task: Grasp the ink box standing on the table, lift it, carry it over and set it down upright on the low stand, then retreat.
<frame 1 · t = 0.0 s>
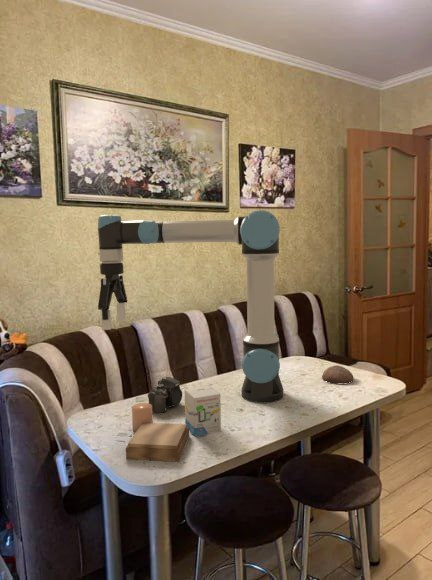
hand: (114, 325, 147), 28 cm above the table, fingers open, 13 cm apart
decorative stone: (337, 380, 173), on the table
ink box: (202, 429, 131), on the table
camera: (167, 407, 149), on the table
stand: (159, 447, 120), on the table
peach domed cylinder: (142, 428, 132), on the table
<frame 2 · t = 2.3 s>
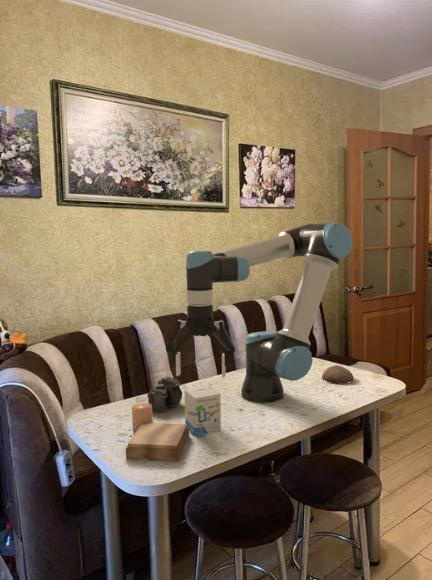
hand: (200, 375, 129), 16 cm above the table, fingers open, 13 cm apart
nothing on the table moved.
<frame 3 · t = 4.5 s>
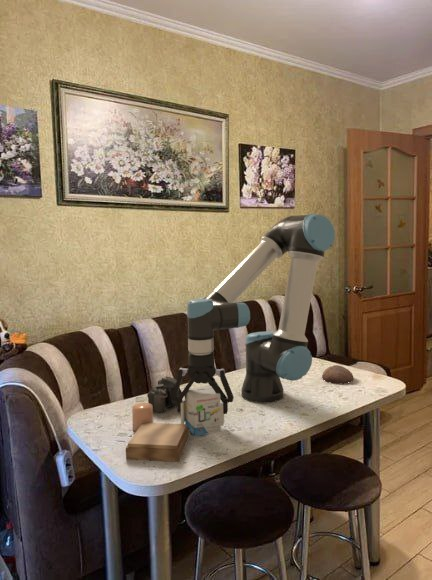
hand: (202, 423, 131), 2 cm above the table, fingers closed on ink box, 11 cm apart
ink box: (202, 428, 131), on the table, touching gripper
everything else where it was.
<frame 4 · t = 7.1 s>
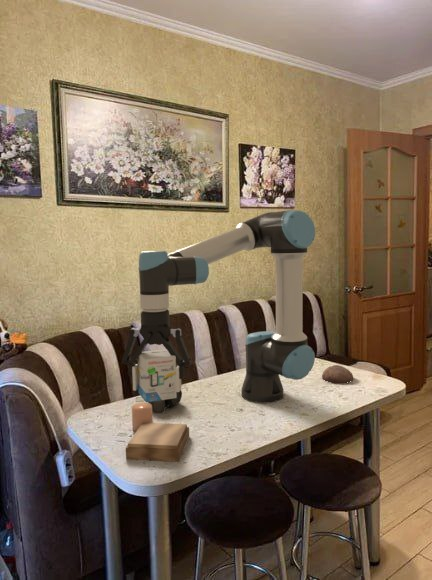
hand: (157, 389, 118), 16 cm above the table, fingers closed on ink box, 11 cm apart
ink box: (157, 396, 118), point 15 cm above the table, touching gripper
everything else where it was.
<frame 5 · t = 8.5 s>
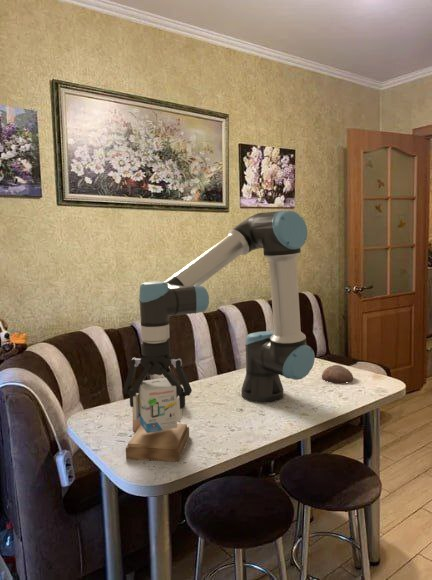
hand: (158, 418, 119), 8 cm above the table, fingers closed on ink box, 11 cm apart
ink box: (158, 425, 119), point 6 cm above the table, touching gripper
everything else where it was.
when the fingers open (7 cm above the table, at t = 9.7 s): ink box drops 1 cm, resting on stand.
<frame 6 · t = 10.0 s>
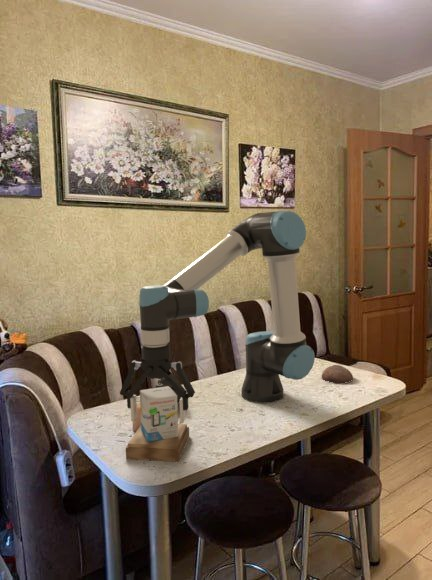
hand: (158, 420, 119), 8 cm above the table, fingers open, 13 cm apart
ink box: (159, 433, 119), point 4 cm above the table, touching stand
everything else where it was.
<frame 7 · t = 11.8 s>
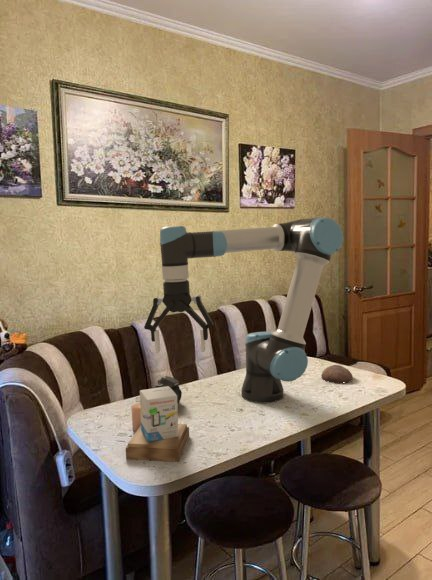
hand: (180, 351, 129), 23 cm above the table, fingers open, 13 cm apart
nothing on the table moved.
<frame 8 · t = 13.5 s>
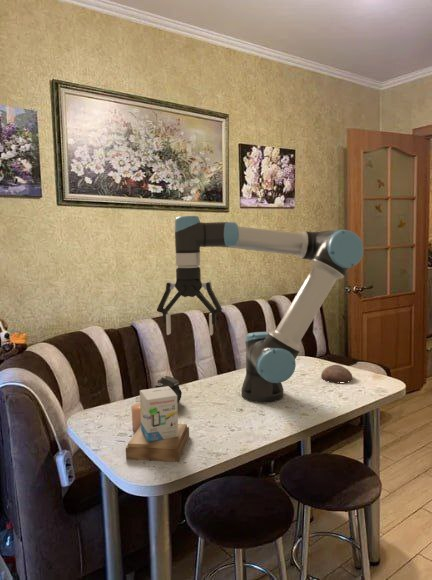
hand: (189, 334, 137), 27 cm above the table, fingers open, 13 cm apart
at the end: ink box inside the target area on the stand (0.2 cm from its centre), point 3.8 cm above the stand's base; ink box tilted 0°; the gripper is holding nothing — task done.
